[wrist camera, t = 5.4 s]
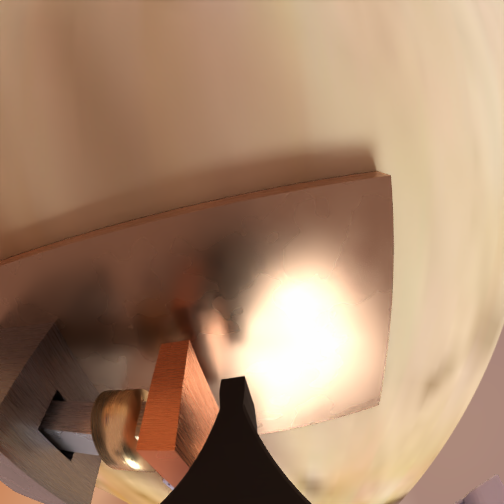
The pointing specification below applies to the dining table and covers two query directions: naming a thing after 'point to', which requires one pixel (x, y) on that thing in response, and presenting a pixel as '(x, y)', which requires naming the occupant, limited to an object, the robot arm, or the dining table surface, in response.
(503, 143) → the dining table surface
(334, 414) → the bearing base
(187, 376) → the shaft
